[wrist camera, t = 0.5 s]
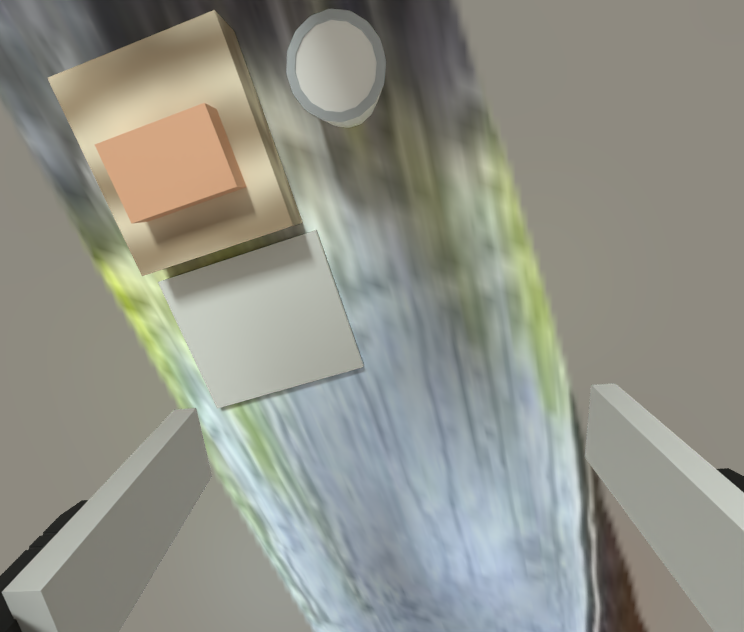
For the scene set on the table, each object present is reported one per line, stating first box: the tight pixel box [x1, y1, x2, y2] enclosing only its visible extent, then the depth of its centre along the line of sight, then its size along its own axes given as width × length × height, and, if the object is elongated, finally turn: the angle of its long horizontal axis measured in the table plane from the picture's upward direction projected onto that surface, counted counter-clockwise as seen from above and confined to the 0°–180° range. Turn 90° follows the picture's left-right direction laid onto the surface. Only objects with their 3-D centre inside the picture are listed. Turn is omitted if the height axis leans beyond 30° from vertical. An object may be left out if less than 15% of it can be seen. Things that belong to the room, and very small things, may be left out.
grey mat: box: [158, 230, 364, 408], centre depth 40 cm, size 14×16×1 cm
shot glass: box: [286, 9, 386, 128], centre depth 31 cm, size 7×7×7 cm
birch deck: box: [48, 10, 303, 276], centre depth 34 cm, size 16×14×4 cm
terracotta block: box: [95, 103, 246, 224], centre depth 32 cm, size 6×9×2 cm, turn 108°
